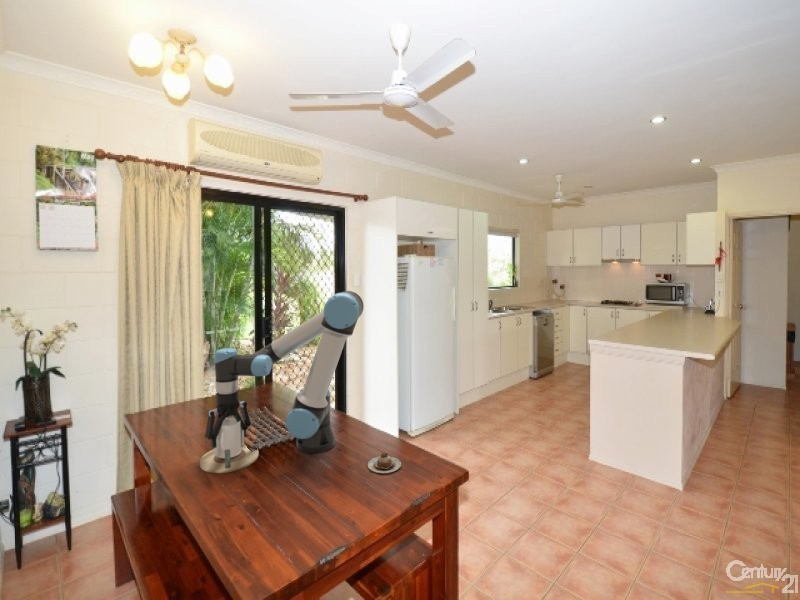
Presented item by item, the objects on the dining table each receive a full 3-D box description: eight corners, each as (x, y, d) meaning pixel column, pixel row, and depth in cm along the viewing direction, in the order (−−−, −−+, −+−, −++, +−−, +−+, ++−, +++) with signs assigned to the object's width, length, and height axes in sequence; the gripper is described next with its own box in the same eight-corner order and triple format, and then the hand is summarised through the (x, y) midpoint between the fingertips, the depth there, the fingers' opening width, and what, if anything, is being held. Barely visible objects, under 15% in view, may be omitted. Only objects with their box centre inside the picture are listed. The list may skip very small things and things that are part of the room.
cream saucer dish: (267, 448, 155) (267, 430, 154) (242, 474, 135) (241, 454, 134) (219, 445, 157) (218, 428, 156) (187, 471, 137) (186, 451, 136)
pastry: (407, 464, 143) (407, 452, 143) (387, 479, 133) (387, 466, 133) (381, 455, 150) (381, 444, 149) (360, 469, 140) (360, 456, 139)
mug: (232, 463, 139) (231, 430, 138) (207, 462, 139) (207, 429, 138) (245, 448, 150) (244, 417, 150) (223, 447, 151) (222, 417, 150)
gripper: (249, 382, 154) (251, 437, 156) (192, 396, 138) (194, 458, 140) (259, 386, 149) (261, 443, 151) (201, 401, 133) (204, 465, 135)
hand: (229, 450), depth 145 cm, fingers closed on mug, 9 cm apart
